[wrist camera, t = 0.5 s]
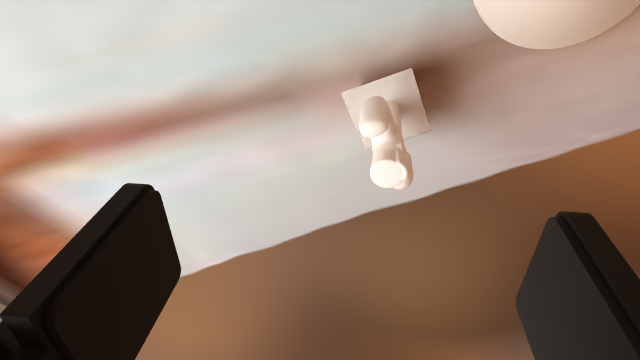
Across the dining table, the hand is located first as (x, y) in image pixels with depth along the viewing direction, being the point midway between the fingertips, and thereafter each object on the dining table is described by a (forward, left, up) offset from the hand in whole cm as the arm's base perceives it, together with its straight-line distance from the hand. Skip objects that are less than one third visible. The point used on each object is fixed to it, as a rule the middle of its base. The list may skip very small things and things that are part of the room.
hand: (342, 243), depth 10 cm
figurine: (+11, +3, -34) cm, 36 cm away
